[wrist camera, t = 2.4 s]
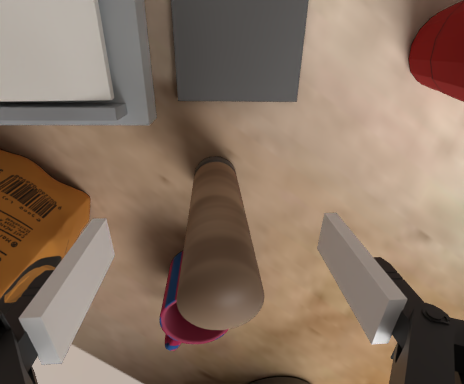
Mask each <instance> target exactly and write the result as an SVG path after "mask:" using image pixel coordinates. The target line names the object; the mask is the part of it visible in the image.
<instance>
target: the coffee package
mask: <svg viewBox="0 0 464 384" xmlns="http://www.w3.org/2000/svg"><path fill="white" fill-rule="evenodd" d="M89 214H90V197H89V196H88V195H87V194H86V193H84V192H82V191H80V190H77V189H75V188H73V187H70V186H68V185H65V184H63V183H60V182H58V181H56V180H54V179H53V178H52V177H50V176H49V175H48V174H47V173H46V172H45V171H44V170H43V169H42V168H41V167H39V166H38V165H37V164H36V163H34V162H33V161H31V160H29V159H27V158H25V157H23V156H20V155H16V154H13V153H9V152H6V151H3V150H0V311H1V312H2V313H3V314H4V316H5V315H6V313H7V312H8V311H9V310H10V308H11V307H12V306H13V305H14V303H15V302H16V301H17V300H18V298H19V297H21V295H22V293H23V292H24V291H25V290H26V289H27V287H28V286H29V285H30V284H31V282H32V281H33V280H34V279H35V278H36V277H37V276H39V275H40V274H41V273H43V272H44V271H45V270H55V269H56V267H57V266H58V265H59V263H60V262H61V261H62V259H63V258H64V257H65V255H66V254H67V253H68V251H69V250H70V249H71V247H72V246H73V244H74V243H75V242H76V240H77V238H78V236H79V234H80V232H81V230H82V229H83V228H84V227H85V225H86V224H87V223H88V221H89V217H90V216H89Z"/></svg>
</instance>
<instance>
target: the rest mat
mask: <svg viewBox="0 0 464 384" xmlns="http://www.w3.org/2000/svg"><path fill="white" fill-rule="evenodd" d="M171 6H172V20H173V35H174V49H175V63H176V78H177V92H178V101H252V102H297V95H298V86H299V77H300V69H301V60H302V52H303V43H304V35H305V26H306V17H307V9H308V0H171Z"/></svg>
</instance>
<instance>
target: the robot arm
mask: <svg viewBox="0 0 464 384" xmlns="http://www.w3.org/2000/svg"><path fill="white" fill-rule="evenodd" d="M317 249H318V251H319V252H320V254H321V256H322V258H323V260H324V261H325V263H326V265H327V267H328V268H329V270H330V272H331V274H332V275H333V277H334V279H335V281H336V282H337V284H338V286H339V288H340V290H341V291H342V293H343V295H344V297H345V298H346V300H347V302H348V304H349V305H350V307H351V309H352V311H353V312H354V314H355V316H356V318H357V320H358V321H359V323H360V325H361V327H362V328H363V330H364V332H365V334H366V335H367V337H368V339H369V341H370V342H371V344H385V343H388V342H389V340H390V338H391V336H392V335H393V336H394V338H395V339H396V341H397V342H398V343H397V345H396V347H395V349H394V351H393V354H392V356H391V359H393V364H392V370H391V376H390V381H389V384H464V321H463V320H458V319H454V318H450V317H449V316H448V315H447V314H446V313H445V312H444V311H442V310H441V309H440V308H438V307H436V306H434V305H431V304H428V303H424V302H423V301H422V299H421V298H420V297H419V296H418V295H417V294H416V293H415V291H414V290H413V289H412V288H411V287H410V286H409V285H408V284H407V282H406V281H405V280H403V278H402V277H401V276H400V274H399V273H397V271H396V270H395V269H394V268H393V267H392V265H391V264H390V263H388V262H387V261H385V260H384V259H382V258H381V257H374V258H373V257H372V255H371V254H370V253H369V252H368V250H367V249H366V248H365V247H364V246H363V244H362V243H361V242H360V241H359V240H358V238H357V237H356V236H355V235H354V234H353V232H352V231H351V230H350V229H349V227H348V226H347V225H346V224H345V223H344V221H343V220H342V219H341V218H340V217H339V215H338V214H337V213H324V218H323V222H322V227H321V232H320V237H319V242H318V247H317ZM114 256H115V253H114V249H113V244H112V240H111V236H110V232H109V227H108V223H107V219H106V218H95V219H92V220H91V222H90V223H89V224H88V226H87V227H86V228H85V230H84V231H83V232H82V234H81V235H80V236H79V238H78V239H77V240H76V242H75V243H74V244H73V246H72V247H71V249H70V250H69V251H68V253H67V254H66V255H65V257H64V258H63V259H62V261H61V262H60V263H59V265H58V266H57V267H56V269H55V270H45V271H44V272H43V273H41V274H40V275H39V276H37V277H36V278H35V279H34V280H33V281H32V282H31V284H30V285H29V286H28V287H27V289H26V290H25V291H24V292H23V293H22V295H21V297H19V298H18V300H17V301H16V302H15V303H14V305H13V306H12V307H11V308H10V310H9V311H8V312H7V313H6V315H5V316H4V314H3V313H2V312H1V311H0V384H38V383H37V379H36V376H35V372H34V370H33V368H32V365H33V363H34V361H35V359H36V358H37V356H38V358H39V360H40V362H41V364H42V365H45V364H61V363H62V362H63V360H64V358H65V356H66V354H67V352H68V350H69V348H70V346H71V344H72V342H73V340H74V338H75V336H76V334H77V332H78V330H79V328H80V326H81V323H82V321H83V319H84V317H85V315H86V313H87V311H88V309H89V307H90V305H91V303H92V301H93V299H94V297H95V295H96V293H97V291H98V289H99V287H100V285H101V283H102V281H103V279H104V277H105V275H106V273H107V271H108V269H109V267H110V264H111V262H112V260H113V258H114ZM250 384H309V383H307V382H305V381H303V380H300V379H297V378H291V377H273V378H266V379H262V380H258V381H255V382H253V383H250Z"/></svg>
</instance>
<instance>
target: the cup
mask: <svg viewBox="0 0 464 384" xmlns="http://www.w3.org/2000/svg"><path fill="white" fill-rule="evenodd" d="M182 258H183V251H182V252H180V253H179V254H177V255H176V256H175V257H174V259H173V260H172V262H171V264H170V269H169V274H168V279H167V284H166V289H165V294H164V299H163V304H162V309H161V314H160V325H161V328H162V330H163V331H164V332H165V334H166V336H165V347H166V349H168V350H170V351H175V350H176V349H177V348H178V347H179V346H180V344H181V343H186V344H204V343H208V342H211V341H214V340H216V339H218V338H220V337H221V336H223V335H224V334H225V333H226V332H227V331H228V329H227V330H209V329H204V328H200V327H198V326H195V325H193V324H191V323H190V322H188V321H187V320H186V319H185V318H184V317H183V316H182V315H181V313H180V312H179V310H178V307H177V292H178V285H179V278H180V271H181V265H182Z"/></svg>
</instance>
